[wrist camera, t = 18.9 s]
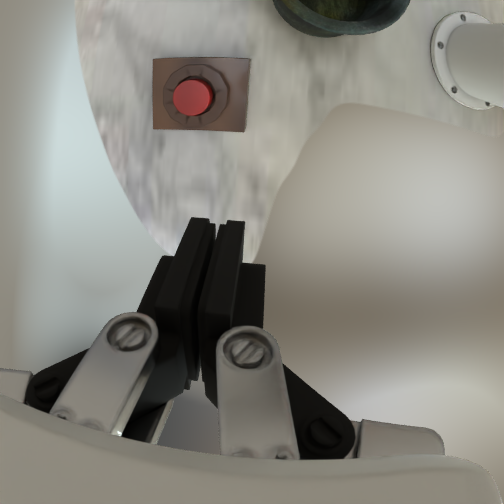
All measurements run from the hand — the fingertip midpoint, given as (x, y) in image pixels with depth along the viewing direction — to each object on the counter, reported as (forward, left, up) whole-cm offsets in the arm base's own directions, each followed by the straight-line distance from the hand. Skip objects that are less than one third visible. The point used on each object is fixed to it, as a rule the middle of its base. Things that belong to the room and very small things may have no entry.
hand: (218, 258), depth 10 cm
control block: (+6, -2, -27) cm, 28 cm away
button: (+6, -2, -24) cm, 24 cm away
